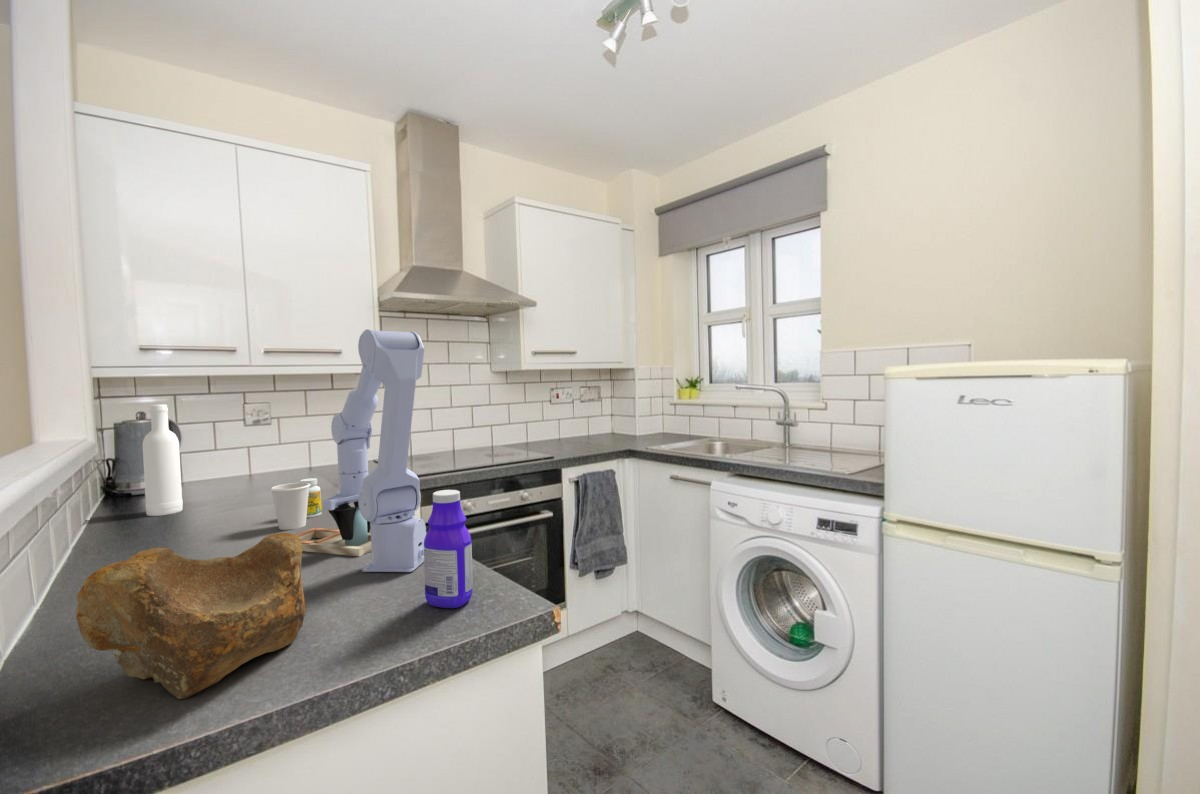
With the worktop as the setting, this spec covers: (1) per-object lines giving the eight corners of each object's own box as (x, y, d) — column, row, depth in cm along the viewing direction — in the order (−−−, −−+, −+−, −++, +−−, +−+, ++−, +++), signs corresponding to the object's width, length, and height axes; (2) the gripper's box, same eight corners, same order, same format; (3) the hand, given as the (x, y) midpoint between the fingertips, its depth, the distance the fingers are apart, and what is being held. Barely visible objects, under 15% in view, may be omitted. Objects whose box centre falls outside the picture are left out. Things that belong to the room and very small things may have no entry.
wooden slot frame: (391, 541, 114) (391, 533, 114) (359, 556, 105) (359, 547, 105) (315, 535, 120) (314, 527, 120) (278, 548, 111) (278, 540, 111)
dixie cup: (274, 524, 130) (272, 484, 129) (312, 520, 134) (310, 481, 133) (270, 533, 122) (268, 491, 122) (311, 528, 126) (309, 486, 126)
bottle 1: (169, 508, 150) (163, 404, 149) (190, 509, 148) (184, 403, 147) (138, 515, 143) (132, 405, 142) (160, 516, 141) (153, 405, 140)
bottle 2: (479, 597, 83) (476, 489, 83) (459, 613, 78) (455, 497, 77) (441, 592, 86) (437, 487, 85) (418, 607, 80) (414, 494, 80)
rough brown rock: (77, 759, 50) (74, 609, 49) (77, 677, 62) (75, 554, 61) (334, 668, 67) (337, 554, 66) (296, 617, 79) (298, 519, 77)
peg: (372, 543, 113) (370, 507, 112) (361, 550, 108) (359, 512, 108) (352, 543, 113) (350, 507, 113) (340, 550, 109) (339, 512, 108)
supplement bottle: (320, 512, 142) (319, 476, 142) (323, 516, 137) (321, 479, 137) (297, 515, 139) (296, 479, 139) (299, 519, 134) (297, 482, 134)
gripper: (363, 465, 118) (365, 525, 119) (309, 477, 104) (313, 545, 105) (389, 466, 116) (391, 527, 117) (338, 478, 102) (341, 547, 103)
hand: (356, 535), depth 111 cm, fingers closed on peg, 4 cm apart
